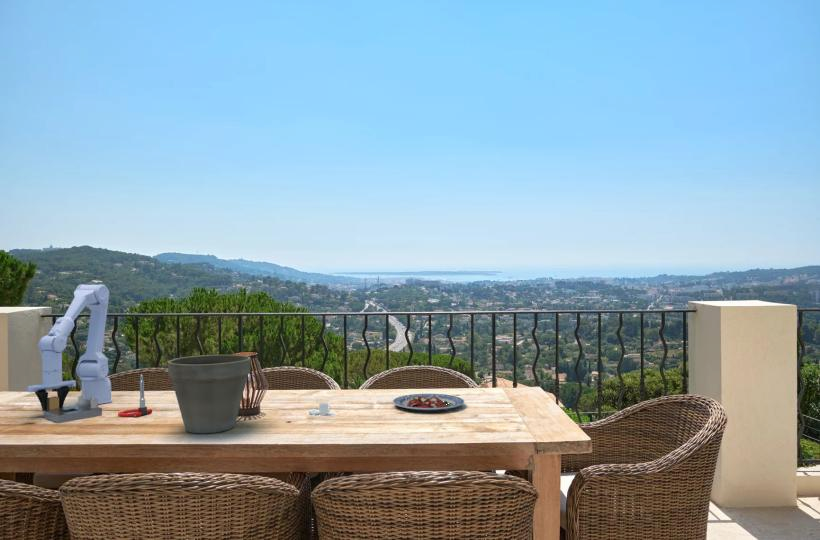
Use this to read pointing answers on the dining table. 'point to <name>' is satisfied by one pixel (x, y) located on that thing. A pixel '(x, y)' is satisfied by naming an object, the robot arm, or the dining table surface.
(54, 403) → the tan rectangular block
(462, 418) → the dining table surface
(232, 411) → the plant pot
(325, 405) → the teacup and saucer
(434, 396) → the ceramic plate
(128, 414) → the tow hook
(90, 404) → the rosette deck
